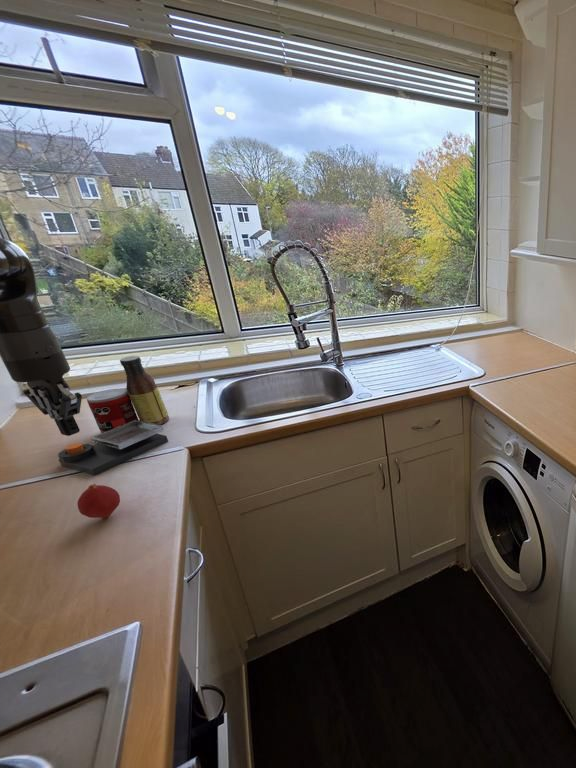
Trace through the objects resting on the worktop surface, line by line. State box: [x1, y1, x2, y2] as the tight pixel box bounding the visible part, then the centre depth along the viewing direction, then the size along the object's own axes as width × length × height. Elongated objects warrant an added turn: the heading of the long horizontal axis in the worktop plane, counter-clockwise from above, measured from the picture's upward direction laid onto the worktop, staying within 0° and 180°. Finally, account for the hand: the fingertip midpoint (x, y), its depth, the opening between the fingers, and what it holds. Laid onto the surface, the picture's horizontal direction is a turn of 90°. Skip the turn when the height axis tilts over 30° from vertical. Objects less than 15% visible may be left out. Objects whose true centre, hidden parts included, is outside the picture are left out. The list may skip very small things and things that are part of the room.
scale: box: [57, 433, 169, 477], centre depth 100 cm, size 16×12×4 cm
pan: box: [89, 419, 165, 450], centre depth 102 cm, size 10×10×1 cm
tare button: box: [64, 442, 84, 454], centre depth 96 cm, size 3×3×2 cm
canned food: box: [86, 388, 139, 434], centre depth 109 cm, size 8×8×11 cm
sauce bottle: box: [119, 355, 170, 425], centre depth 112 cm, size 7×6×20 cm
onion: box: [77, 483, 121, 519], centre depth 79 cm, size 6×6×8 cm
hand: (71, 433), depth 82 cm, fingers closed
